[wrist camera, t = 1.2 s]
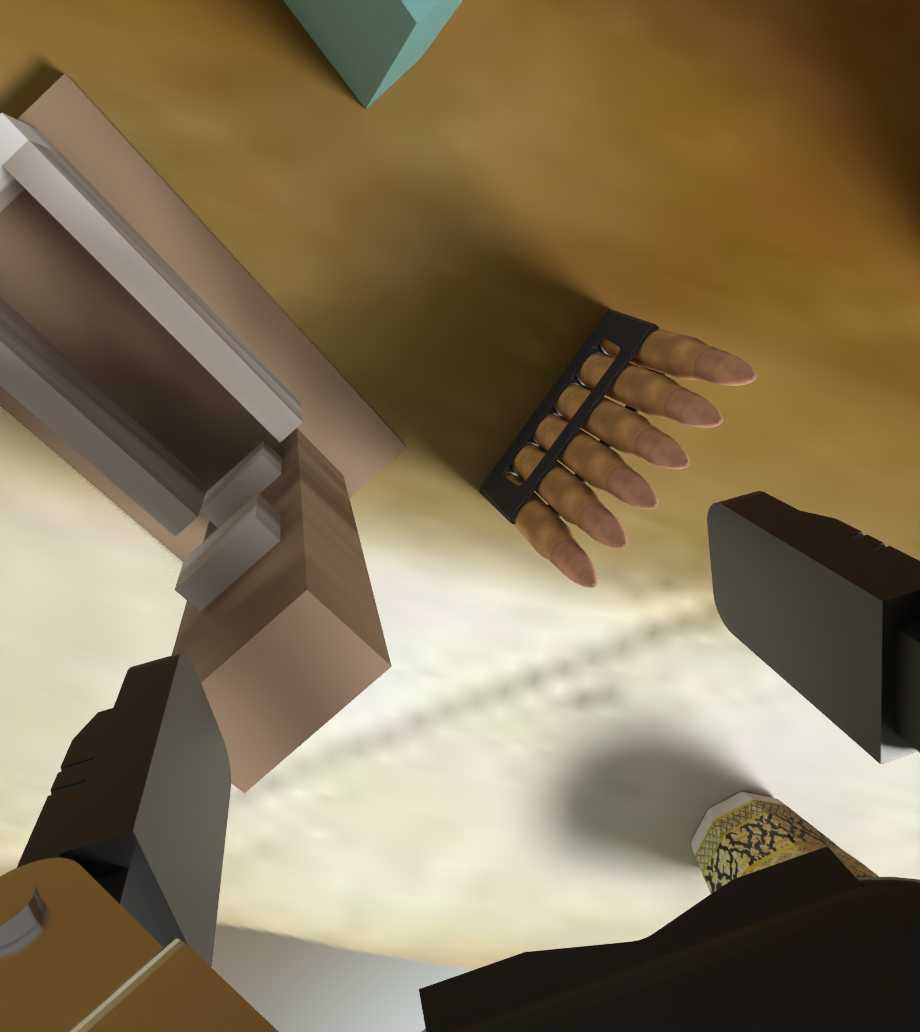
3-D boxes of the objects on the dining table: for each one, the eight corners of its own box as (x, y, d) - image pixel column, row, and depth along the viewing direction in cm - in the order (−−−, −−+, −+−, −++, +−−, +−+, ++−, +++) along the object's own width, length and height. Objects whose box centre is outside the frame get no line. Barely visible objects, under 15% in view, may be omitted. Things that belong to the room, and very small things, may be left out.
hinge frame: (72, 78, 28) (-232, -157, 12) (403, 442, 36) (505, 613, 19) (-135, 277, 29) (-697, 321, 12) (232, 593, 36) (188, 885, 20)
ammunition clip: (506, 509, 38) (596, 618, 27) (477, 490, 37) (558, 594, 26) (636, 331, 36) (790, 369, 25) (609, 308, 36) (754, 337, 25)
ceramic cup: (646, 817, 47) (734, 956, 38) (786, 742, 47) (907, 862, 38) (703, 943, 52) (793, 1093, 43) (829, 875, 52) (944, 1009, 43)
